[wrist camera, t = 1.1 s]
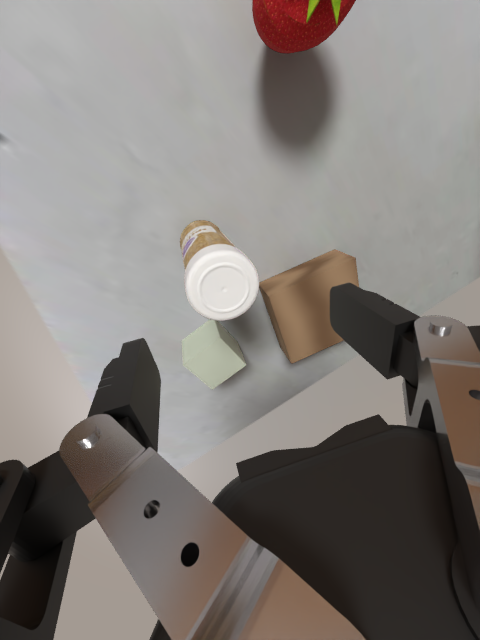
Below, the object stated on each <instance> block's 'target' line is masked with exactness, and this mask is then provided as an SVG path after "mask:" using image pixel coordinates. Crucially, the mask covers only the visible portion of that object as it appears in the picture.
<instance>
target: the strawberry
mask: <svg viewBox="0 0 480 640" xmlns="http://www.w3.org/2000/svg"><path fill="white" fill-rule="evenodd" d="M355 1H356V0H253V7H252V11H253V18H254V23H255V26H256V29H257V32H258V34H259V36H260V38H261V39H262V41H263V42H264V43H265V44H266V45H267V46H268V47H269V48H271V49H272V50H274V51H277V52H280V53H294V52H299V51H304V50H308V49H310V48H313V47H315V46H317V45H319V44H320V43H322V42H323V41H324V40H326V39H327V38H328V37H329V36H330V35H331V34H332V33H333V32H334V31H335V30H336V29H337V28H338V26H339V25H340V24H341V22H342V21H343V20H344V18H345V17H346V15H347V14H348V12H349V11H350V9H351V8H352V6H353V4H354V2H355Z"/></svg>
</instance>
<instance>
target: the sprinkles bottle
mask: <svg viewBox="0 0 480 640" xmlns="http://www.w3.org/2000/svg"><path fill="white" fill-rule="evenodd" d="M180 246H181V250H182V257H183V263H184V267H185V275H184V284H185V291H186V295H187V298H188V301H189V303H190V304H191V306H192V307H193V308H194V310H195V311H197V312H198V313H199V314H200V315H202V316H204V317H206V318H208V319H212V320H217V321H224V320H230V319H233V318H236V317H238V316H240V315H242V314H243V313H245V312H246V311H247V310H248V309H249V308H250V307H251V306H252V304H253V303H254V301H255V299H256V297H257V294H258V291H259V276H258V273H257V270H256V268H255V266H254V265H253V263H252V262H251V261H250V259H249V258H248V257H247V256H246V255H245V254H244V253H243V252H242V251H241V250H239V249H237V248H236V247H235V246H234V244H233V243H232V242H231V241H230V240H229V239H228V238H227V237H226V236H225V235H224V234H223V233H222V232H221V231H220V230H219V228H218V227H217V226H216V225H214V224H213V223H211V222H209V221H205V220H202V221H201V220H199V221H194V222H192V223H190V224H189V225H188V226H187V227H186V228H185V229H184V230H183V232H182V234H181V238H180Z"/></svg>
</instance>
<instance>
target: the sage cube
mask: <svg viewBox="0 0 480 640" xmlns="http://www.w3.org/2000/svg"><path fill="white" fill-rule="evenodd" d="M182 354H183V365H184V366H185V367H186V368H187V369H188V370H189V371H191V372H192V373H193V374H194V375H195V376H196V377H198V378H199V379H200V380H201V381H202V382H204V383H205V384H206V385H207V386H208V387H209V388H211V389H212V390H213V389H214V388H215V387H217V386H218V385H220V384H221V383H222V382H224V381H225V380H226V379H228V378H229V377H231V376H232V375H233V374H235V373H236V372H237V371H239V370H240V369H242V368H243V367H244V366H246V362H245V360H244V357H243V355H242V352H241V350H240V347H239V345H238V342H237V341H236V340H235V339H234V338H233V337H232V336H231V335H230V334H229V332H228V331H227V330H226V329H225V328H224V327H223V326H222V325H221V324H220V323H219V322H218V321H217V320H212V319H210V320H208V321H207V322H206V323H204V324H203V325H202V326H200V327H199V328H198V329H197V330H195V331H194V332H193V333H191V334H190V335H189V336H187V337H186V338H185V339H183V340H182Z"/></svg>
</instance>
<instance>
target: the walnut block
mask: <svg viewBox="0 0 480 640" xmlns="http://www.w3.org/2000/svg"><path fill="white" fill-rule="evenodd" d="M345 283H352V284H354V285H356V286H357V287H359V283H358V275H357V266H356V258H355V257H352V256H350V255H347V254H345V253H343V252H340V251H338V250H332V251H330V252H328V253H325V254H323V255H321V256H319V257H316V258H314V259H312V260H310V261H307V262H305V263H303V264H301V265H298V266H296V267H294V268H292V269H289V270H287V271H285V272H283V273H280V274H278V275H276V276H273V277H271V278H269V279H267V280H264V281H262V282H260V283H259V288H260V291H261V294H262V296H263V299H264V302H265V305H266V308H267V311H268V313H269V316H270V319H271V322H272V325H273V328H274V330H275V333H276V336H277V339H278V342H279V345H280V347H281V348H282V350H283V351H284V353H285V354H286V356H287V358H288V359H289V361H290V362H291V364H292V363H294V362H297V361H299V360H301V359H303V358H305V357H308V356H310V355H312V354H314V353H317V352H319V351H321V350H323V349H325V348H328V347H330V346H332V345H334V344H337V343H339V342H341V341H343V339H342V338H341V337H340V336H339V335H338V334H337V333H336V332H335V331H334V330H333V328H332V326H331V323H330V289H331V288H332V287H334V286H337V285H341V284H345Z"/></svg>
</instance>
